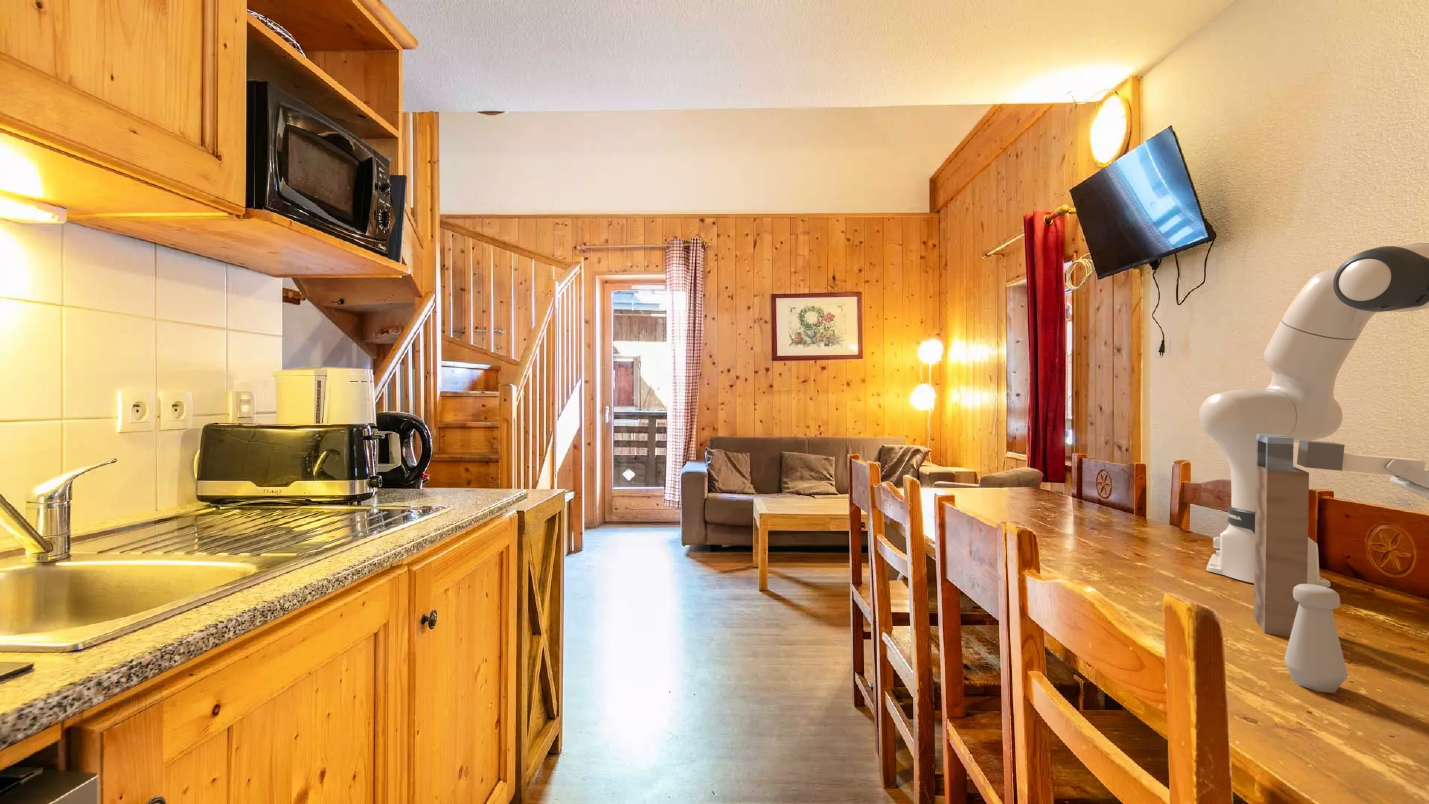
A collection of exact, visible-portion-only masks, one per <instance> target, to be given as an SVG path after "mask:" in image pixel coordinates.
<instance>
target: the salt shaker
mask: <svg viewBox="0 0 1429 804" xmlns="http://www.w3.org/2000/svg"><path fill="white" fill-rule="evenodd" d="M1293 597H1294V599H1295V601H1297V602H1299V605H1298V609H1297V613H1296V617H1295V620H1294V624H1293V628H1292V632H1291V635H1290V637H1289V639H1288V644H1287V647H1286V651H1285V655H1284V658H1283V659H1284V665H1285V666H1286V668H1287V669H1286V670H1287V671H1288V673H1289V674H1290V677H1291V679H1292V680H1293V681H1294V682H1295V684H1297V685H1298V686H1300V687H1303V688H1305V689H1309V690H1312V691H1314V692H1319V693H1329V694H1331V693H1332V694H1335V693H1336V692H1337V691H1338V689H1339V687H1341V685H1342V684H1343V683H1344V682H1345V681H1347V679H1348V669H1347V666H1346V662H1345V659H1344V654H1343V649H1342V647H1341V646H1342V645H1341V643H1340V638H1339V635H1338V630H1337V627H1336V625H1337V624H1336V621H1335V617H1334V613H1333V610H1336V609H1339V607H1340V605H1341V598H1340V597H1341V596H1340V594H1339V593H1338V592H1337V591H1335V590H1334V589H1332V588H1330V587H1324V586H1320V585H1314V584H1299V585H1297V586H1295V587H1294V589H1293Z"/></svg>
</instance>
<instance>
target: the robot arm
mask: <svg viewBox="0 0 1429 804" xmlns="http://www.w3.org/2000/svg"><path fill="white" fill-rule="evenodd" d="M1428 309H1429V242H1428V243H1427V242H1415V243H1409V244H1403V245H1396V246H1393V245H1386V246H1384V245H1383V246H1379V247H1374V248H1370V249H1366V250H1364V251H1361V252H1358V253H1356V254H1354V255H1353V256H1351V257H1349V258H1347V259H1346V260H1345V261H1344V262H1343V263H1342V264H1341V265H1340V266H1339V267H1338V268H1332V269H1325V270H1322V271H1321V272H1318V273H1316V274H1314V275H1313V276H1312V277H1311V278H1310V279H1309V280H1308V281H1307V282H1306V283H1305V284H1304V286H1303V287H1302V288H1301V289H1300V291H1299V292H1298V293H1297V295H1295V297H1294V298H1293V300H1292V302H1291V303H1290V304H1289V306H1288V308H1287V309H1286V311H1285V313H1284V314H1283V316H1282V318H1281V320H1280V322H1279V323H1278V325H1277V327H1276V329H1275V331H1274V333H1273V335H1272V337H1271V338H1270V341H1269V342H1268V343H1267V346H1266V348H1265V349H1264V351H1263V355H1262V357H1263V360H1264V363H1265V364H1266V365H1267V367H1268V368H1269V369H1270V370H1272V377H1271V380H1270V383H1269V384H1268V386H1267V387H1266V388H1265V389H1261V388H1260V389H1259V388H1256V389H1254V388H1253V389H1250V388H1249V389H1247V388H1242V389H1241V388H1239V389H1232V390H1231V389H1230V390H1226V391H1222V392H1218V393H1215V394H1211V395H1210V396H1208V397H1207V398H1206V399H1205V400H1204V401H1203V402H1202V404H1201V405H1200V407H1199V411H1198V421H1199V425H1200V426H1201V428H1202V431H1204V432H1205V433H1206V434H1207V435H1208V436H1209V437H1211V438H1212V439H1213V440H1214V441H1215V442H1216V443H1217V444H1218V445H1219V447H1220V448H1221V450H1222V452H1223V453H1224V456H1225V458H1226V460H1227V461H1226V462H1227V463H1228V467H1229V472H1230V485H1231V486H1230V487H1231V488H1230V490H1231V491H1230V492H1231V493H1230V494H1231V496H1230V497H1231V498H1230V499H1231V500H1230V501H1231V505H1230V506H1229V507H1228V511H1227V522H1228V525H1227V527H1226V528H1225V530H1223V531H1222V532H1221V533H1219V535H1220V536H1216V537H1215V536H1214V537H1212V538H1213V539H1212V547H1213V548H1214V549H1217V550H1215V553H1213V554H1211V556H1210V558H1209V560H1208V563H1207V566H1206V569H1205V570H1206V571H1207V572H1211V573H1214V574H1218V575H1223V576H1226V577H1229V578H1232V579H1236V580H1239V581H1242V582H1246V583H1251V584H1254V562H1255V498H1256V434H1270V435H1283V436H1288V437H1292V438H1294V443H1299V440H1308V441H1317V440H1319V439H1325V438H1327V437H1330V436H1332V435H1333V434H1335V433H1336V432H1337V431H1338V430H1339V428H1340V426H1341V425H1342V421H1343V410H1342V408H1341V406H1340V405H1341V404H1339V403H1338V401H1337V400H1336V399H1335V395H1334V394H1335V393H1334V391H1335V383H1336V379H1337V375H1338V374H1339V371H1340V370H1341V368H1342V365H1343V364H1344V362H1345V361H1346V359H1347V357H1348V355H1349V354H1350V352H1351V351H1352V349H1353V347H1354V345H1355V343H1356V342H1357V340H1358V338H1359V337H1360V335H1361V333H1362V332H1363V330H1364V329H1365V327H1366V325H1367V323H1368V322H1369V321H1370V320H1371V318H1372V317H1373V316H1374V315H1376V314H1377V313H1382V312H1383V313H1384V312H1396V313H1397V312H1398V313H1399V312H1400V313H1401V312H1403V313H1404V312H1416V311H1421V310H1428ZM1293 467H1296V466H1294V465H1293ZM1384 468H1385V469H1386V470H1389V471H1391V472H1393V473H1395V474H1398V475H1400V476H1397V475H1391V477H1390V478H1389V482H1390V483H1392V484H1393V485H1394V486H1395V487H1399V488H1401V489H1404V490H1405V491H1407V492H1410V493H1412V494H1415V495H1416V496H1419V497H1421V498H1423V499H1426V500H1428V501H1429V469H1428V468H1425V470H1422V469H1419V468H1416V467H1414V466H1411V465H1408V464H1406V463H1404V462H1401V461H1399V460H1395V459H1391V460H1389V461H1388V462H1387V463H1386V464H1385V466H1384ZM1308 525H1309V522H1308ZM1218 549H1219V550H1218ZM1319 559H1320V558H1319V547H1318V543H1317V542H1316V541H1315V540H1314V539H1312V538H1310V537H1309V536H1308V565H1307V584H1314V585H1320V586H1324V587H1327V588H1330V587H1331V581H1330V580H1329V579H1326V578H1324V577H1322V576H1320V563H1319V561H1320V560H1319Z"/></svg>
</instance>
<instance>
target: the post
mask: <svg viewBox="0 0 1429 804" xmlns="http://www.w3.org/2000/svg"><path fill="white" fill-rule="evenodd" d="M1294 443H1295V442H1294V438H1292V437H1288V436H1283V435H1270V434H1256V498H1255V562H1254V583H1253V618H1254V620H1255V621H1256V623H1257V624H1258V625H1259V627H1260V628H1261V629H1262V631H1263V633H1265V634H1267V635H1268V634H1269V635H1275V636H1281V637H1287V638H1290V635H1291V632H1292V628H1293V624H1294V620H1295V617H1296V613H1297V609H1298V605H1299V602H1297V601H1295V599H1294V597H1293V589H1294V587H1295V586H1297V585H1299V584H1307V565H1308V537H1309V524H1308V523H1309V504H1310V503H1309V501H1310V500H1309V499H1310V498H1309V497H1310V488H1309V487H1310V472H1308V471H1306V470H1303V469H1300V468H1298V467H1297V466H1295V467H1293V466H1294Z"/></svg>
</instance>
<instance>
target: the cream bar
mask: <svg viewBox="0 0 1429 804" xmlns="http://www.w3.org/2000/svg"><path fill="white" fill-rule="evenodd" d="M1297 448H1298V451H1297V460H1296V465H1299V466H1301V467H1304V468H1306V469H1307V468H1309V469H1318V470H1320V469H1321V470H1328V471H1341V472H1342V471H1345V472H1357V473H1366V474H1377V475H1378V474H1379V475H1389V476H1392V475H1397V476H1400V475H1398V474H1395V473H1393V472H1391V471H1389V470H1386V469H1385V468H1384V466H1385V464H1386V463H1387V462H1388V461H1389V460H1391V459H1395V460H1399V461H1401V462H1404V463H1406V464H1408V465H1411V466H1414V467H1416V468H1419V469H1422V470H1425V469H1426V460H1423V459H1417V458H1407V457H1395V456H1387V455H1386V456H1384V455H1382V456H1381V455H1370V454H1359V453H1346V452H1345V444H1342V443H1340V442H1339V443H1338V442H1331V441H1320V440H1319V441H1317V440H1312V441H1308V440H1299V442H1298V447H1297Z"/></svg>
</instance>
